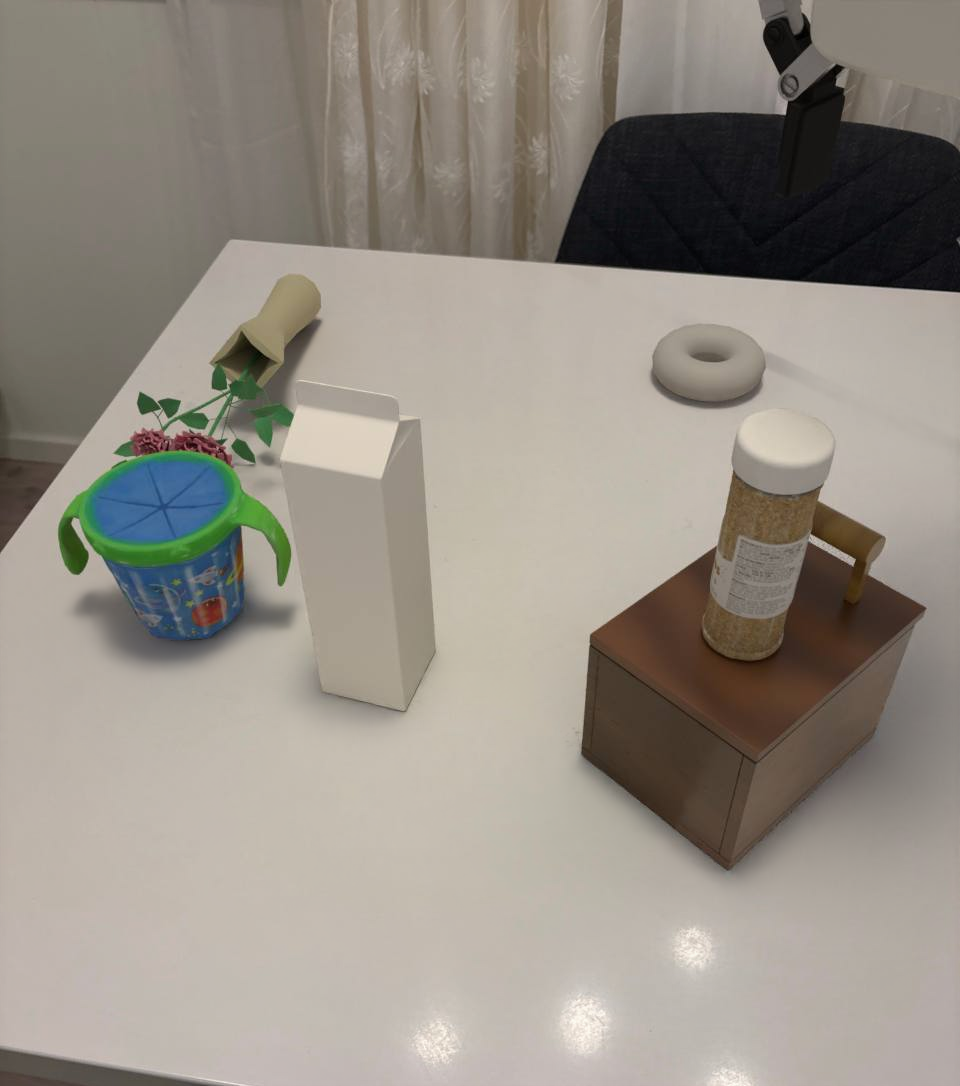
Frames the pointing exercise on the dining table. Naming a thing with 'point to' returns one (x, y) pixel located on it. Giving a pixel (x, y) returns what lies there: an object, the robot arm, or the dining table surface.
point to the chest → (723, 754)
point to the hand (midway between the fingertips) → (894, 222)
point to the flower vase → (238, 377)
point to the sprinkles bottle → (765, 530)
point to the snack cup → (172, 539)
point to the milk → (361, 540)
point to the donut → (708, 362)
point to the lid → (797, 665)
